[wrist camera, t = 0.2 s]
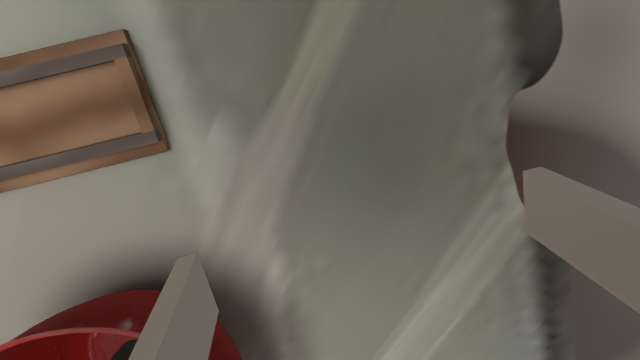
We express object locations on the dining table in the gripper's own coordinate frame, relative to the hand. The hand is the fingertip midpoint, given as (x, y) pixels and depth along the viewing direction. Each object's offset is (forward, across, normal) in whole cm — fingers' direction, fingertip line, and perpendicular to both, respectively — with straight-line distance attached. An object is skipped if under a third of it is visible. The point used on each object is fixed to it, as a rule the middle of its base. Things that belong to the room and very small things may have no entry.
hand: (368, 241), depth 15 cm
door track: (+28, -30, +7) cm, 42 cm away
